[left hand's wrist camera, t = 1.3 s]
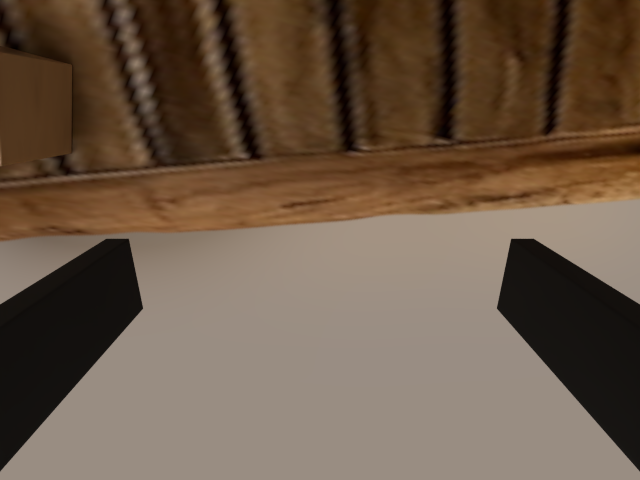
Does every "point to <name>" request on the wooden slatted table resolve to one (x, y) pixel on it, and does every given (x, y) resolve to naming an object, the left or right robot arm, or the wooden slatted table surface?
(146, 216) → the wooden slatted table surface
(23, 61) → the tan brown block
